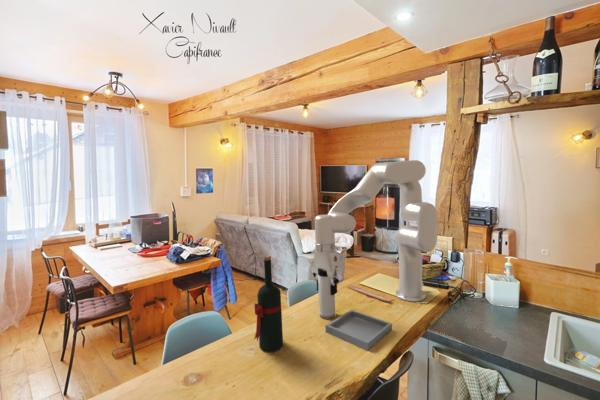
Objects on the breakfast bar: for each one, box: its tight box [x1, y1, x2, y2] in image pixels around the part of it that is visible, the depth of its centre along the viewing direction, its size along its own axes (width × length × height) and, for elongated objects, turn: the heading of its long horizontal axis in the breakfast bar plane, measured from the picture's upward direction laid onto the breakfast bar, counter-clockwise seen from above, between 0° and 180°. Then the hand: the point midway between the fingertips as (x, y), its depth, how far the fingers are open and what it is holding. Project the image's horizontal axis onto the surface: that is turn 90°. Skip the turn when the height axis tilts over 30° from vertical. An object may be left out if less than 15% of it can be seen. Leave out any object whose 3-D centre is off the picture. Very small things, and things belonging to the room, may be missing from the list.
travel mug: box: [318, 268, 336, 320], centre depth 117 cm, size 6×7×20 cm
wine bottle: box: [253, 254, 284, 353], centre depth 97 cm, size 8×10×30 cm
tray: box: [324, 309, 393, 352], centre depth 106 cm, size 16×17×2 cm
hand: (326, 291), depth 117 cm, fingers closed on travel mug, 6 cm apart
